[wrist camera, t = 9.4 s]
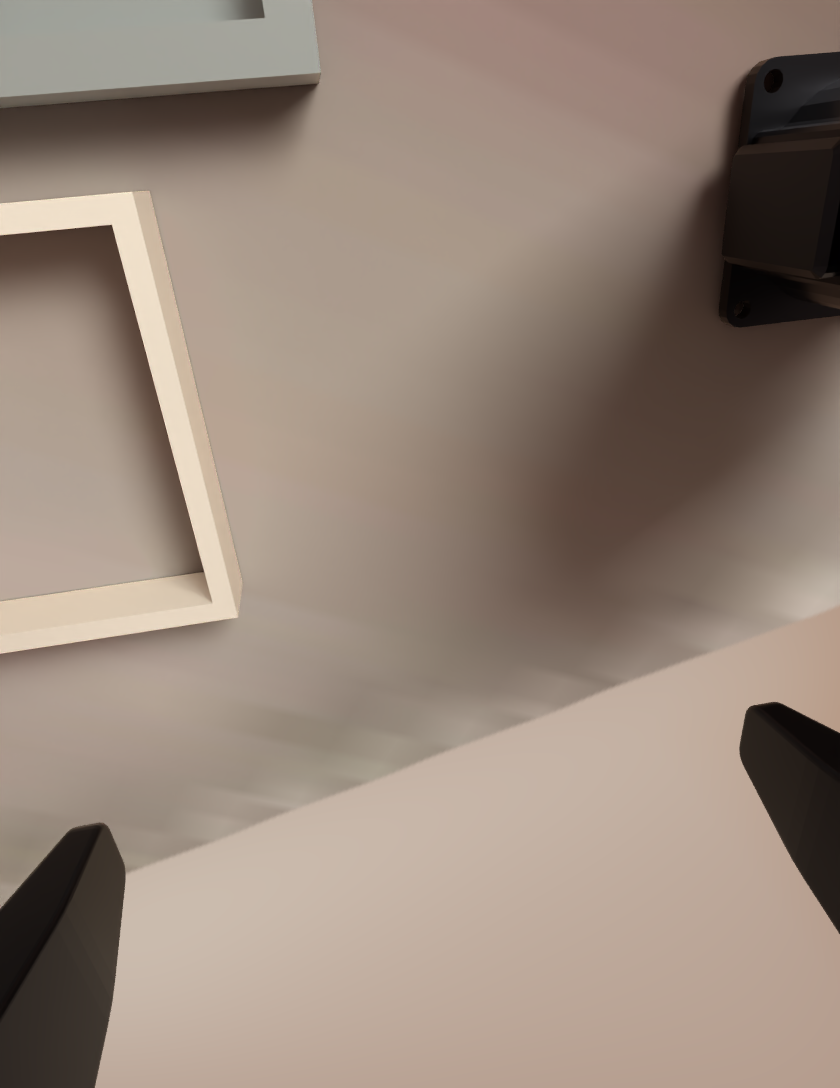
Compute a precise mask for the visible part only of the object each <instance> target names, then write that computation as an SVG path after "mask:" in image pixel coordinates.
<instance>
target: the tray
mask: <svg viewBox="0 0 840 1088" xmlns="http://www.w3.org/2000/svg"><path fill="white" fill-rule="evenodd" d="M320 75H321V70H320V62H319V54H318V45H317V37H316V29H315V21H314V13H313V5H312V0H0V108H11V107H23V106H36V105H49V104H62V103H75V102H88V101H100V100H113V99H126V98H139V97H152V96H164V95H177V94H190V93H203V92H216V91H228V90H241V89H254V88H267V87H280V86H292V85H305V84H318V83H319V79H320Z"/></svg>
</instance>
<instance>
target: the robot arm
mask: <svg viewBox="0 0 840 1088" xmlns="http://www.w3.org/2000/svg"><path fill="white" fill-rule="evenodd" d="M768 72H770V73H771V74H772V75H773V82H774V83H773V85H772V88H771V90H770V91H769V92H767V91H766V90H765V88H764V80H765V77H766V75H767V74H768ZM722 255H723V257H724V258H725V262H724V270H723V279H722V287H721V296H720V304H719V316H720V318H721V320H722V321H723V322H724V323H726V324H727V325H730V326H733V327H747V326H756V325H764V324H772V323H781V322H789V321H797V320H806V319H814V318H822V317H831V316H839V315H840V52H832V53H819V54H806V55H794V56H781V57H774V58H771V59H767V60H764V61H761V62H759V63H758V64H757V65H755V66H754V67H753V68H752V70H751V72H750V73H749V75H748V78H747V82H746V86H745V94H744V103H743V111H742V119H741V128H740V136H739V145H738V151H737V152H736V154H735V155H734V157H733V160H732V169H731V177H730V186H729V195H728V203H727V212H726V220H725V229H724V237H723V246H722ZM740 301H743V309H742V311H741V312H740V313H739V314H738V315H736V316H735V313H734V310H735V307H736V305H737V304H738V303H739V302H740ZM740 757H741V760H742V763H743V765H744V767H745V770H746V771H747V773H748V775H749V777H750V779H751V781H752V783H753V785H754V787H755V789H756V790H757V793H758V795H759V797H760V799H761V800H762V802H763V804H764V806H765V808H766V810H767V812H768V814H769V816H770V818H771V820H772V822H773V824H774V826H775V828H776V830H777V832H778V834H779V836H780V837H781V839H782V841H783V843H784V845H785V847H786V849H787V851H788V853H789V854H790V856H791V858H792V860H793V862H794V863H795V865H796V867H797V868H798V870H799V871H800V873H801V875H802V876H803V878H804V879H805V881H806V883H807V884H808V885H809V887H810V889H811V890H812V892H813V893H814V895H815V897H816V898H817V900H818V901H819V902H820V904H821V906H822V907H823V909H824V910H825V912H826V914H827V915H828V917H829V918H830V920H831V921H832V923H833V924H834V926H835V927H836V929H837V930H838V932H839V934H840V733H839V732H837V731H835V730H833V729H831V728H829V727H827V726H825V725H823V724H821V723H819V722H817V721H815V720H813V719H811V718H809V717H807V716H805V715H803V714H801V713H799V712H797V711H795V710H793V709H791V708H789V707H787V706H785V705H783V704H781V703H778V702H770V703H765V704H759V705H753V706H751V707H749V708H748V710H747V711H746V714H745V719H744V725H743V730H742V736H741V741H740ZM124 890H125V866H124V862H123V859H122V857H121V855H120V852H119V850H118V848H117V846H116V843H115V841H114V839H113V836H112V834H111V832H110V829H109V828H108V826H107V825H106V824H104V823H95V824H90V825H84V826H78V827H75V828H73V829H71V830H70V831H68V832H67V833H66V834H65V836H64V837H63V838H62V839H61V840H60V841H59V842H58V844H57V845H56V846H55V847H54V848H53V849H52V850H51V851H50V853H49V854H48V855H47V856H46V857H45V858H44V859H43V861H42V862H41V863H40V864H39V865H38V866H37V867H36V869H35V870H34V871H33V872H32V873H31V874H30V875H29V877H28V878H27V879H26V880H25V881H24V882H23V883H22V885H21V886H20V887H19V888H18V889H17V890H16V891H15V893H14V894H13V895H12V896H11V897H10V898H9V899H8V901H7V902H6V903H5V904H4V905H3V906H2V907H1V909H0V1088H95V1083H96V1079H97V1074H98V1069H99V1065H100V1060H101V1055H102V1050H103V1046H104V1041H105V1036H106V1032H107V1027H108V1022H109V1017H110V1011H111V1006H112V1000H113V991H114V983H115V976H116V966H117V956H118V947H119V937H120V927H121V918H122V909H123V899H124Z"/></svg>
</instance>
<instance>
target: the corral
mask: <svg viewBox="0 0 840 1088" xmlns="http://www.w3.org/2000/svg"><path fill="white" fill-rule="evenodd" d="M103 225H112V227H113V231H114V234H115V238H116V242H117V246H118V249H119V253H120V257H121V261H122V264H123V268H124V272H125V276H126V279H127V283H128V287H129V291H130V295H131V298H132V302H133V306H134V310H135V313H136V317H137V321H138V325H139V328H140V332H141V336H142V340H143V343H144V347H145V351H146V355H147V358H148V362H149V366H150V370H151V373H152V377H153V381H154V385H155V388H156V392H157V396H158V400H159V403H160V407H161V411H162V415H163V418H164V422H165V426H166V430H167V433H168V437H169V441H170V445H171V449H172V452H173V456H174V460H175V464H176V467H177V471H178V475H179V479H180V482H181V486H182V490H183V494H184V497H185V501H186V505H187V509H188V512H189V516H190V520H191V524H192V527H193V531H194V535H195V539H196V542H197V546H198V550H199V554H200V557H201V561H202V565H203V569H204V572H200V573H193V574H186V575H179V576H172V577H165V578H159V579H152V580H145V581H138V582H131V583H124V584H117V585H111V586H104V587H97V588H90V589H83V590H76V591H69V592H63V593H56V594H49V595H42V596H35V597H28V598H21V599H14V600H8V601H1V602H0V654H2V653H8V652H15V651H21V650H28V649H35V648H41V647H48V646H54V645H61V644H67V643H74V642H80V641H87V640H93V639H100V638H107V637H113V636H120V635H126V634H133V633H139V632H146V631H152V630H159V629H165V628H172V627H179V626H185V625H192V624H198V623H205V622H211V621H218V620H224V619H231V618H237V617H238V614H239V606H240V599H241V592H242V585H243V582H242V578H241V574H240V569H239V565H238V561H237V557H236V553H235V548H234V544H233V540H232V536H231V532H230V527H229V523H228V519H227V515H226V510H225V506H224V502H223V498H222V494H221V489H220V485H219V481H218V477H217V473H216V468H215V464H214V460H213V456H212V452H211V447H210V443H209V439H208V435H207V431H206V426H205V422H204V418H203V414H202V410H201V405H200V401H199V397H198V393H197V388H196V384H195V380H194V376H193V372H192V367H191V363H190V359H189V355H188V351H187V346H186V342H185V338H184V334H183V330H182V325H181V321H180V317H179V313H178V309H177V304H176V300H175V296H174V292H173V287H172V283H171V279H170V275H169V271H168V266H167V262H166V258H165V254H164V250H163V245H162V241H161V237H160V233H159V229H158V224H157V220H156V216H155V212H154V208H153V203H152V199H151V195H150V191H136V192H123V193H112V194H101V195H90V196H79V197H68V198H57V199H46V200H35V201H24V202H13V203H2V204H0V235H8V234H19V233H29V232H40V231H50V230H61V229H71V228H82V227H92V226H103Z"/></svg>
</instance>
